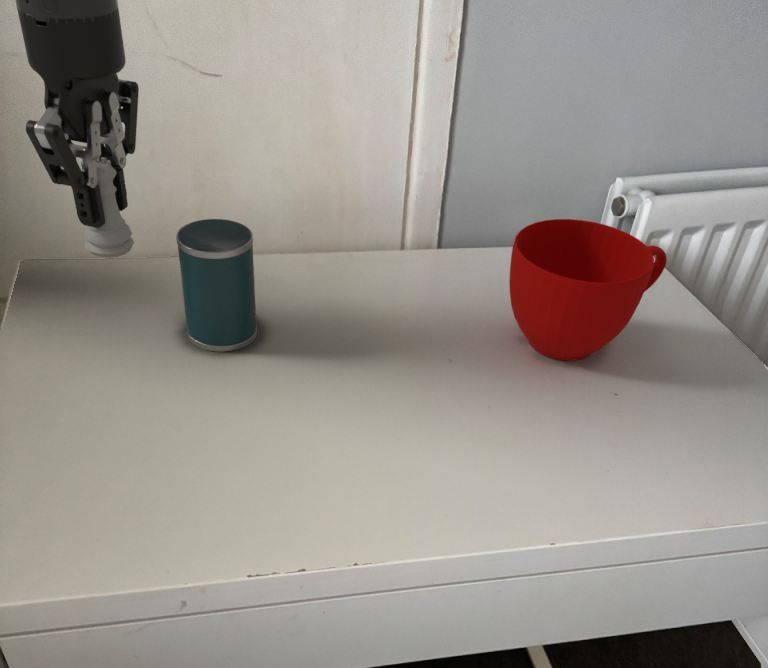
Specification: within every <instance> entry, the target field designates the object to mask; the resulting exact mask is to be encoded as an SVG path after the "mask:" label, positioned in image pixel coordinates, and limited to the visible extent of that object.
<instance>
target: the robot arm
mask: <svg viewBox="0 0 768 668" xmlns="http://www.w3.org/2000/svg"><path fill="white" fill-rule="evenodd" d="M118 1H119V0H15V5H16V9H17V14H18V20H19V24H20V28H21V33H22V38H23V43H24V48H25V52H26V57H27V62H28V64H29V67H30V68H31V69H32V70H33V71H34V72H36V73H37V75H39V77H41V79H42V80H43V83H44V97H43V102H44V108H45V111H44V113H43V114H42V116H41V117H40V119H39V120H32V119H28V120H27V122H26V124H25V132H26V134H27V136H28V138H29V140H30V142H31V144H32V146H33V148H34V149H35V152H36V153H37V155H38V157H39V159H40V161H41V163H42V165H43V166H44V168H45V170H46V172H47V174H48V176H49V179H50V180H51V182H52V183H53V184H55V185H63V186H67V187H68V186H69V187H71V189H72V195H73V201H74V205H75V209H76V215H77V218H78V220H79V222H80V223H81V225H83V226H85V227H87V226H90V227H95V228H100V227H101V226H103V225H104V224H105V216H104V210H103V204H102V199H101V193H100V187H99V185H97V163H96V160H97V162H101V158H102V157H104V158H107V160H110V162H111V166H112V167H113V168H114V169H115V170H116V172H117V174H116V176H115V177H114V179H113V185H114V186H115V187H116V189H117V190H116V192H115V196H116V202H117V205H118V208H119V212H123V211H124V210H126V208H128V205H129V203H128V197H127V195H128V193H127V188H126V179H125V172H124V169H125V167H126V165H127V156H128V155H133V154H135V152H136V144H137V126H138V111H139V110H138V107H139V91H140V89H139V84H138V82H137V81H132V80H126V79H121V78H119V76H118V73H120V72H121V71H122V70H123V69H124V67H126V52H125V45H124V38H123V31H122V23H121V17H120V9H119V2H118ZM123 124H124V126H123ZM73 142H79V143H84V144H86V146H85V145H80V144H75V143H73ZM77 158H78V159H81V161H82V160H83V162H84V171H81V166H80V165H79V163H78V161H77Z"/></svg>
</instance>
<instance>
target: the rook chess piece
mask: <svg viewBox="0 0 768 668" xmlns="http://www.w3.org/2000/svg"><path fill="white" fill-rule="evenodd" d="M96 163H97V185H99V187H100V193H101V199H102V204H103V210H104V216H105V224H104V225H103V226H101V227H100V228H95V227H90V226H85V229H84V230H83V237H84V240H86V241H85V242H84V246H85V249H87V250H88V252H90V253H91V254H92V255H94V256H96V257H100V258H118V257H121V256H124V255H126V254H128V253H129V252H130V251H131V249H132V248H133V246H134V244H135V241H134V239H133V238H132V235H133V233H132V229H131V227H130V226H129V225H128V224H127V223H126V220H125V219H124V218H123V217H122V215H121V211H119V208H118V205H117V202H116V196H115V192H116V190H117V189H116V187H115V186H114V185H113V179H114V177H115V176H116V174H117V172H116V170H115V169H114V168H113V167H112V166H111V162H110V160H107V158H104V157H102V158H101V162H97V160H96ZM80 169H81V171H84V162H83V160H82V159H81V161H80Z"/></svg>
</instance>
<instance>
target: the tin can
mask: <svg viewBox="0 0 768 668" xmlns="http://www.w3.org/2000/svg"><path fill="white" fill-rule="evenodd" d="M175 236H176V244H177V250H178V259H179V268H180V277H181V285H182V294H183V303H184V305H183V306H184V312H185V313H184V314H185V321H186V336H187V339H188V340H189V341H190V343H191V344H193V346H195V347H197V348H198V349H199V348H200V349H202V350H205V351H209V352H221V353H222V352H232V351H237V350H241V349H244V348H245V347H247V346H249V345H251V344H252V343H253V342H254V341H255V339H256V338H257V336H258V325H257V310H256V309H257V308H256V287H255V286H256V285H255V266H254V265H255V264H254V235H253V232H252V230H251V229H250V228H249V227H248V226H246V225H245V224H243V223H241V222H238V221H235V220H231V219H223V218H205V219H198V220H195V221H192V222H189V223H187V224H185V225H183V226H181V227H180V228H179V229H178V231H177V232H176V235H175Z"/></svg>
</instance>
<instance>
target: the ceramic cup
mask: <svg viewBox="0 0 768 668" xmlns="http://www.w3.org/2000/svg"><path fill="white" fill-rule="evenodd" d="M654 256H655V257H654ZM666 265H667V253H666V252H665V251H664V249H662V248H661V247H660V246H657V245H648V246H647V245H646V244H645V243H644V242H642V241H641V240H640V239H639V238H637V237H635V236H634V235H632V234H631V233H628V232H625V231H624V230H621V229H619V228H616V227H613V226H611V225H607V224H603V223H600V222H595V221H589V220H583V219H574V218H572V219H571V218H554V219H545V220H541V221H537V222H534V223H531V224H529V225H526V226H525V227H523V228H522V229H520V230H519V231H518V232H517V234H516V235H515V237H514V240H513V244H512V250H511V257H510V266H509V279H508V280H509V281H508V282H509V285H508V286H509V287H508V288H509V298H510V304H511V310H512V313H513V316H514V319H515V321H516V323H517V325H518V327H519V329H520V332H522V334H523V335H524V337H525V338H526V340H528V344H529V345H530V346H531V347H532V348H533V349H534V350H535V352H537V353H539V354H541V355H543V356H546V357H547V358H550V359H554V360H559V361H579V360H583V359H586V358H588V357H589V356H591V355H592V354H594V353H595V352H597V351H599V350H601V349H603V348H604V347H606V346H607V345H608V344H610V343H611V342H612V341H613V340H614V339H616V338H617V336H619V335H620V333H622V332H623V330H624V329H625V328H626V327H627V326H628V324H629V322H630V321H631V320H632V318H633V317H634V314H635V312H636V310H637V308H638V306H639V304H640V302H641V301H642V298H643V297H644V293H645V292H646V291H648V290H649V289H650V288H652V286H653V285H654V284H655V283H656V282H657V281H658V279H660V277H661V275H662V274H663V272H664V270H665V268H666Z"/></svg>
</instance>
